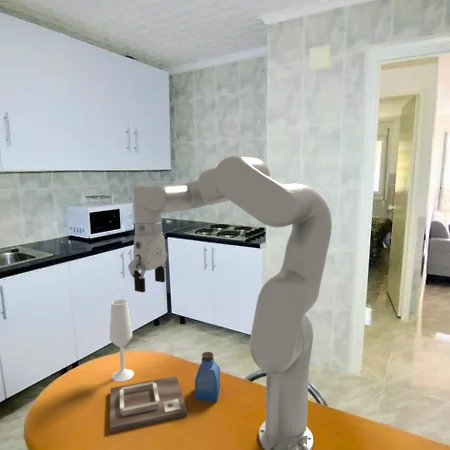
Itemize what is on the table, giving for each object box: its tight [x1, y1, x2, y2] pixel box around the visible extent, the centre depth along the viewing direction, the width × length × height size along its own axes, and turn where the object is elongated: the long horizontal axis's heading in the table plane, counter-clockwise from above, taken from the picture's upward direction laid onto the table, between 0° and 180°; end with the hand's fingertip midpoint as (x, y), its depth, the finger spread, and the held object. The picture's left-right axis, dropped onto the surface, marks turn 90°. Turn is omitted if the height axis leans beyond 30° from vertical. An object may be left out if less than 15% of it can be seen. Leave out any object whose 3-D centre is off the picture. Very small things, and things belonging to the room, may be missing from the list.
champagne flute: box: [109, 298, 135, 383], centre depth 102 cm, size 7×7×24 cm
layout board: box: [109, 375, 188, 434], centre depth 90 cm, size 16×19×3 cm
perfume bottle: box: [194, 351, 221, 402], centre depth 94 cm, size 6×6×12 cm
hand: (150, 286), depth 97 cm, fingers open, 9 cm apart
